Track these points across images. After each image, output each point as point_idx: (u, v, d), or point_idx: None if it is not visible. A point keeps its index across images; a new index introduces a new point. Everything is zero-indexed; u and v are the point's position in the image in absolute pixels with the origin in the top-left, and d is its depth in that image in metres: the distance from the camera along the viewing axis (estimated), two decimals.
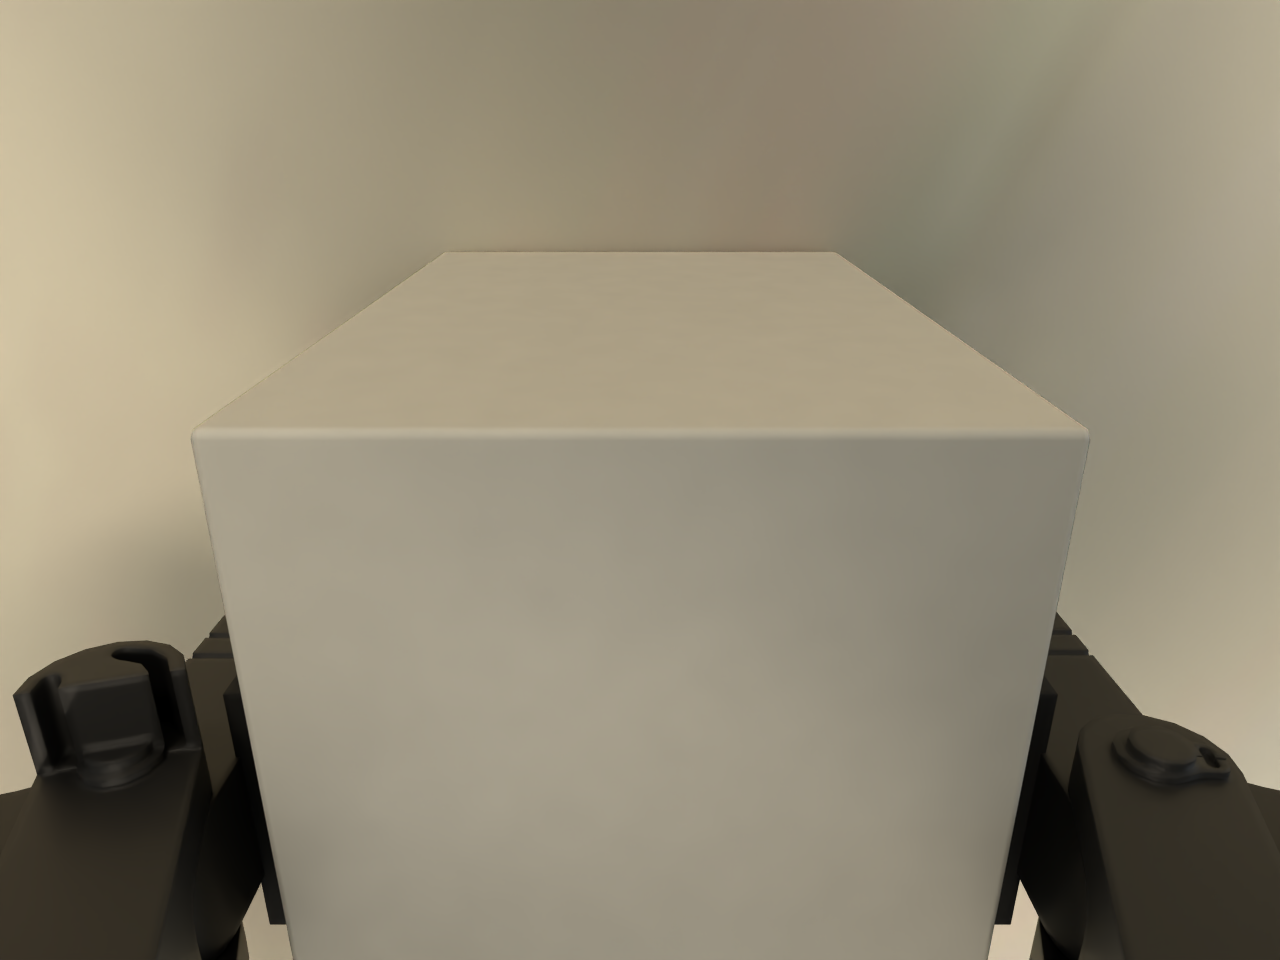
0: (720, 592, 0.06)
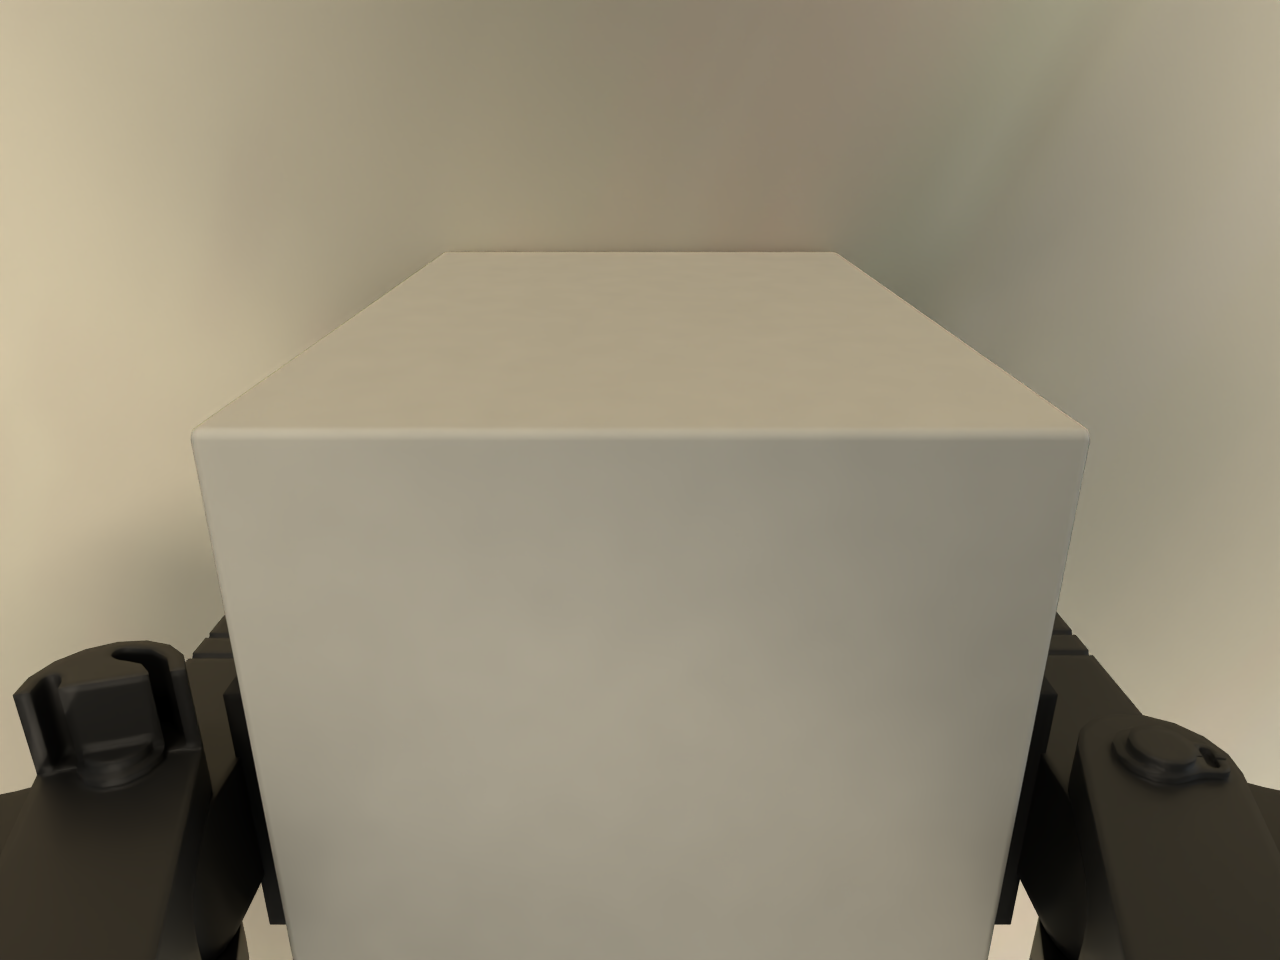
0: (720, 594, 0.06)
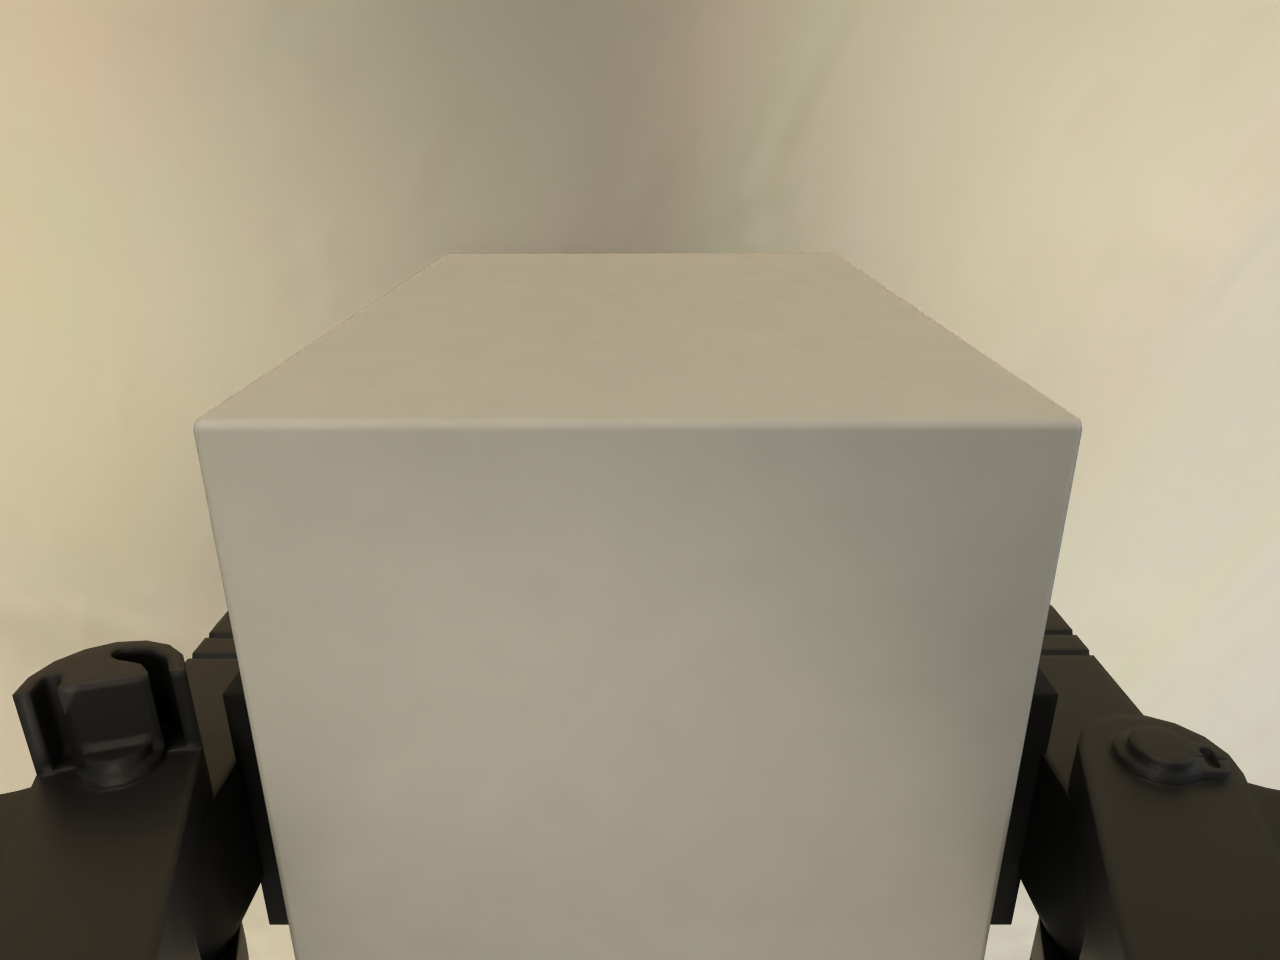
0: (716, 584, 0.06)
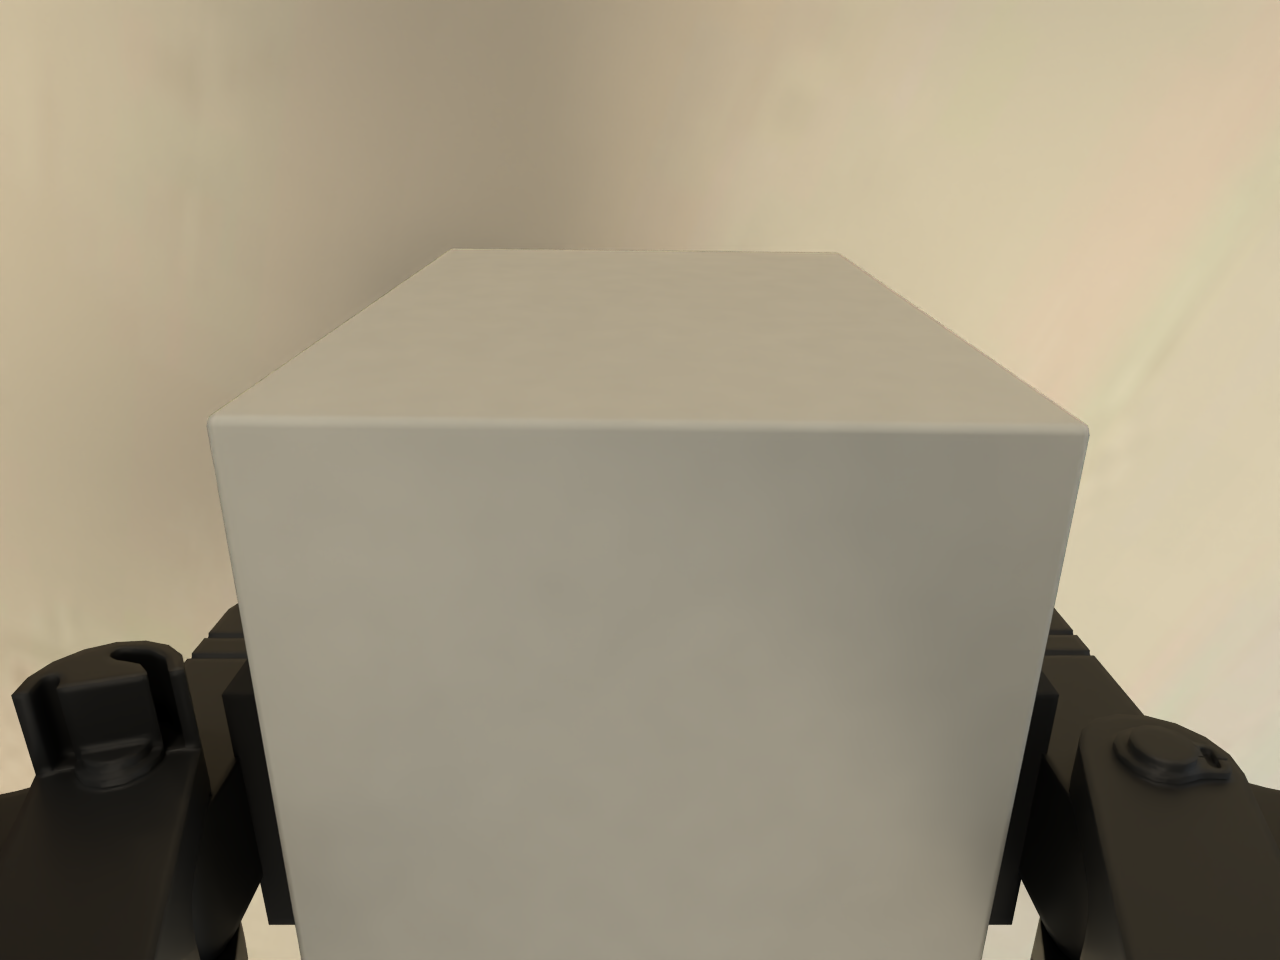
0: (724, 582, 0.06)
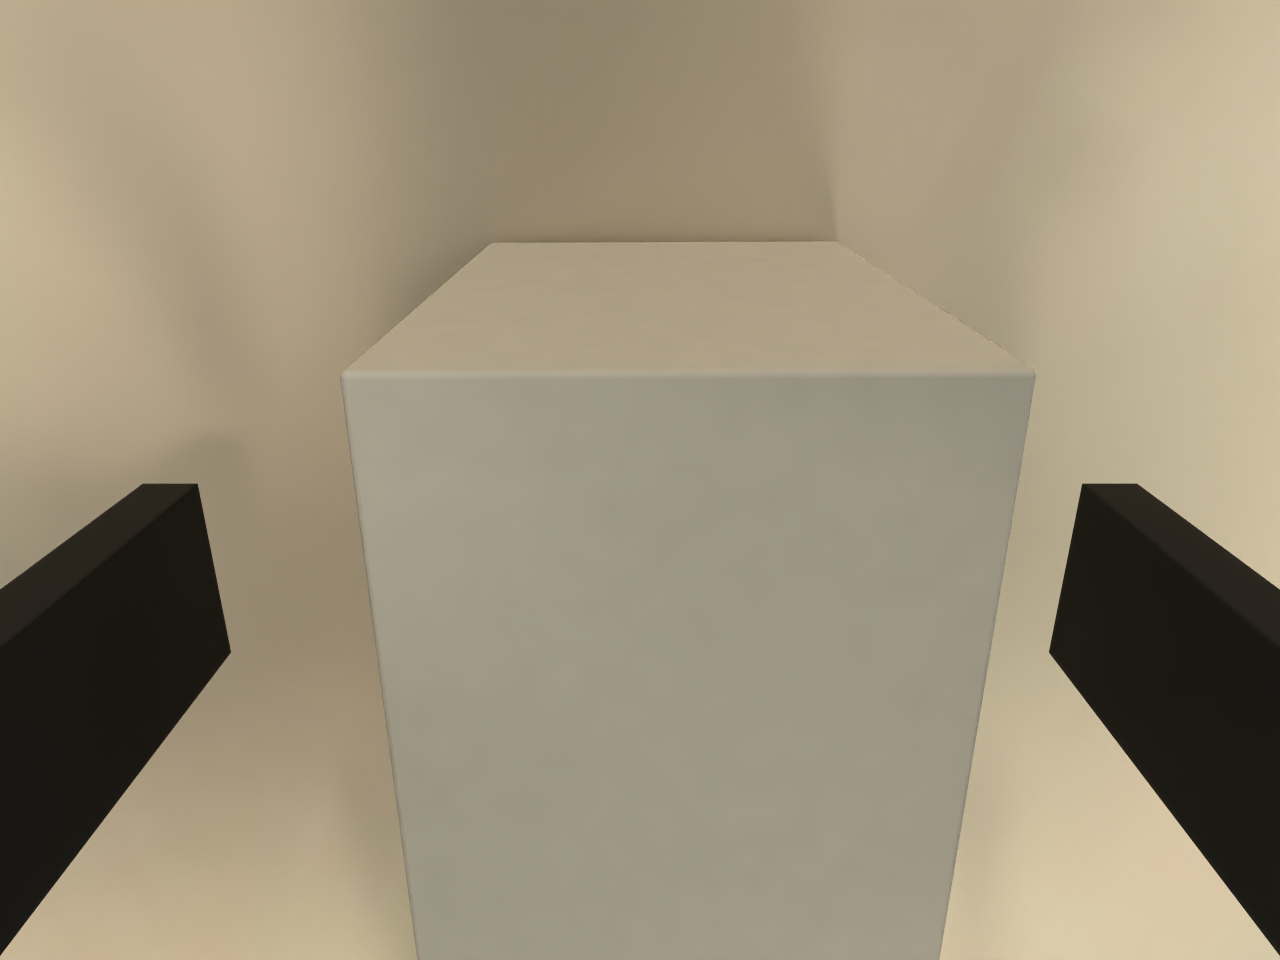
0: (748, 501, 0.08)
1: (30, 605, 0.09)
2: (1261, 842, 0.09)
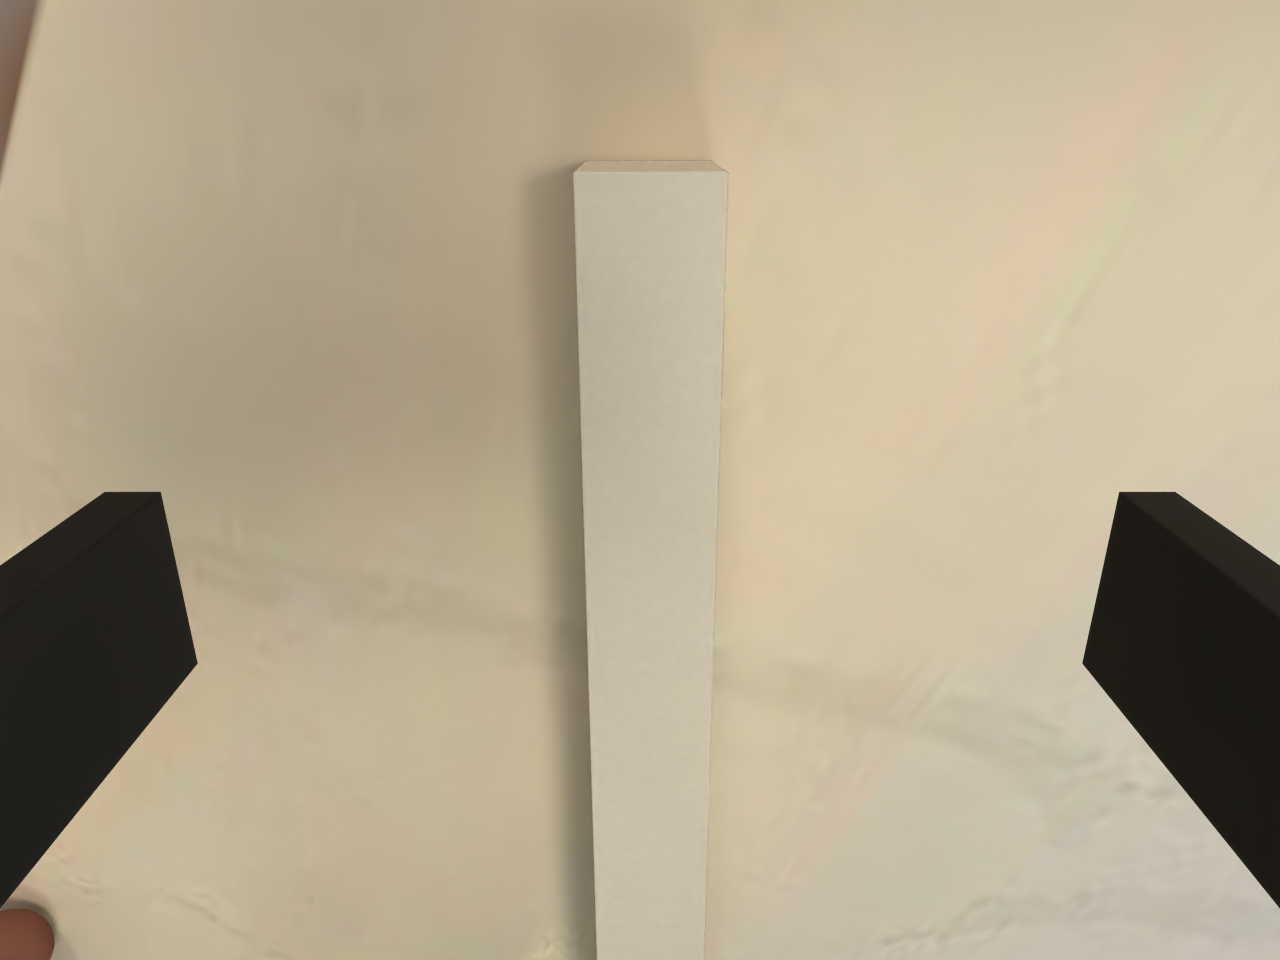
0: (665, 204, 0.34)
1: None
2: None
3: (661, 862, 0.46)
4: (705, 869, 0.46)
